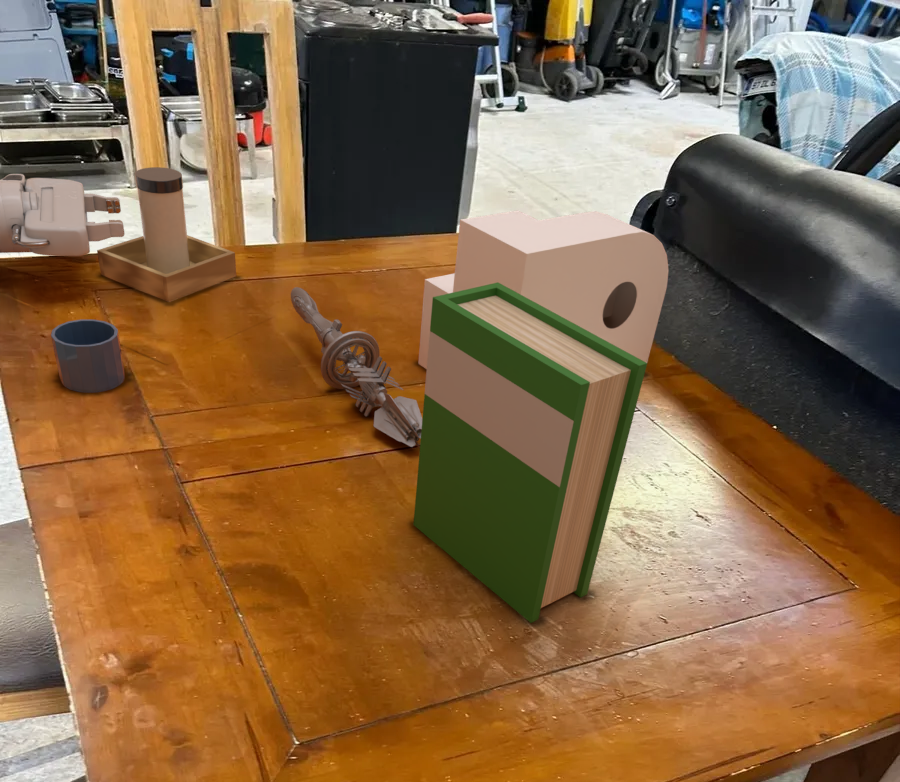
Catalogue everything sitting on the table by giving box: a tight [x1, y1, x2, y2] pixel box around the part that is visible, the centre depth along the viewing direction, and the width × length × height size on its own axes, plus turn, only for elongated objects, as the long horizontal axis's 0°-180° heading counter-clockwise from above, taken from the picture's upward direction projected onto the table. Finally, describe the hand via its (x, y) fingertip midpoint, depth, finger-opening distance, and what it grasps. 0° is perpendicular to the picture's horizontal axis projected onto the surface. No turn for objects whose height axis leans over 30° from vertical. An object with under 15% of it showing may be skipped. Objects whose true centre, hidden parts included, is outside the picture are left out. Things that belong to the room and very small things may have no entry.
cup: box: [50, 318, 126, 394], centre depth 104 cm, size 7×7×6 cm
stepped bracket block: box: [417, 209, 670, 370], centre depth 113 cm, size 26×17×20 cm, turn 128°
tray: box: [96, 234, 237, 303], centre depth 130 cm, size 14×14×4 cm
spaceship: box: [290, 286, 423, 449], centre depth 108 cm, size 8×35×8 cm
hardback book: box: [412, 282, 648, 624], centre depth 80 cm, size 18×7×24 cm, turn 39°
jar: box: [134, 166, 190, 274], centre depth 126 cm, size 6×6×14 cm
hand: (122, 216), depth 123 cm, fingers open, 8 cm apart
